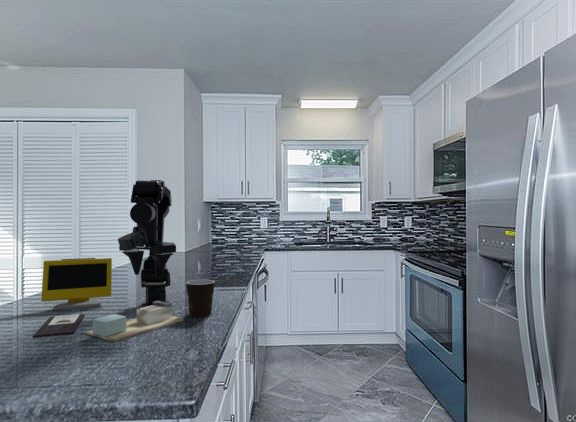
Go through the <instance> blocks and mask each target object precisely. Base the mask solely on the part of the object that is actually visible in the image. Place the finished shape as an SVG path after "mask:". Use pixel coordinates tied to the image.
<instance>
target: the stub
mask: <svg viewBox="0 0 576 422" xmlns="http://www.w3.org/2000/svg"><path fill="white" fill-rule="evenodd" d="M126 320H127V316H125V315H121V314H116V313H114V314H110V315H109V314H108V315H105V316H104V315H103V316H101V317H100V316H99V317H96V318H93V319H92V330H93V334H97V335H100V336H104V337H105V336H109V335H112V334H115V333H119V332H122V331H126Z"/></svg>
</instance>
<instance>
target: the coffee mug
mask: <svg viewBox="0 0 576 422" xmlns="http://www.w3.org/2000/svg"><path fill="white" fill-rule="evenodd" d="M185 283H186V284H185V286H186V293H187V302H188V303H187V304H188V312H189V316H190V317H192V318H206V317H210V316H211V315H212V309H213V300H214V291H215V283H216V281H215V280H214V279H213V280H212V279H193V280H191V279H190V280H188V281H186V282H185Z"/></svg>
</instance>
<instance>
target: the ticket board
mask: <svg viewBox="0 0 576 422" xmlns="http://www.w3.org/2000/svg"><path fill="white" fill-rule="evenodd" d="M172 306H173V305H172V302H169V303H167V302H162V301H155V302H153V305H151V306H147V305H146V306H144V307H140V308H136V317H134V318H131V319H126V331H122V332H119V333H115V334H112V335H109V336H105V337H104V336H100V335H97V334H93V329H90V330H86V331H85V334H86V335H89V336H93V337H96V338H99V339H103V340H106V341H110V342H113V343H116V342H120V341H124V340H126V339H129V338H132V337H136V336H138V335H142V334H145V333H148V332H151V331H154V330H158V329H160V328H163V327H167V326H171V325H173V324H176V323H180V322H183V321H185V320H184V319H185V318H184V317H180V316H175V315H172Z"/></svg>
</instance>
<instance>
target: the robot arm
mask: <svg viewBox="0 0 576 422" xmlns="http://www.w3.org/2000/svg"><path fill="white" fill-rule="evenodd" d="M130 203H131V204H134V205H133V206H132V207H131V209H130V210H129V216H130V219H131V221H133V222H134V223H136V226H133V227H132V232H130V233H127V234H125V235H122V236H121V237H118V238H117V242H118V250H119V251H120V252H121V253H122V254H124V255H125V256H126V257H128V259H129V262H130V265H131V267H132V270H133V273H134V275H136V276H138V275H140V284H141V285H140V286H141V288H145V302H142V303H141V305H142V306H146V307H147V306H151V305H153V302H155V301H162V302H167V303H170V302H169V301H168V300H167V291H166V288H167V287H170V286H171V272H170V270H169V268H167V267H168V266H167V263H168V261H169V260H170V258H171V256H173V255H174V253H177V245H176V244H175V242H168V241H164V236H165V235H164V233H165V231H164V230H165V219H166V217H167V216H168V214H169V213H170V207H172V191H171V190H170V189H169V188H168V187H167V186H166V185H165V180H163V179H161V180H160V179H151V180H136V181H135V183H134V184H133V186H132V191H131V197H130ZM145 250H146V251H148V253H149V254H148V257H147V258H146V259H144V254H145ZM143 259H144V261H143ZM142 263H143V266H142ZM141 267H143V268H141Z"/></svg>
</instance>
